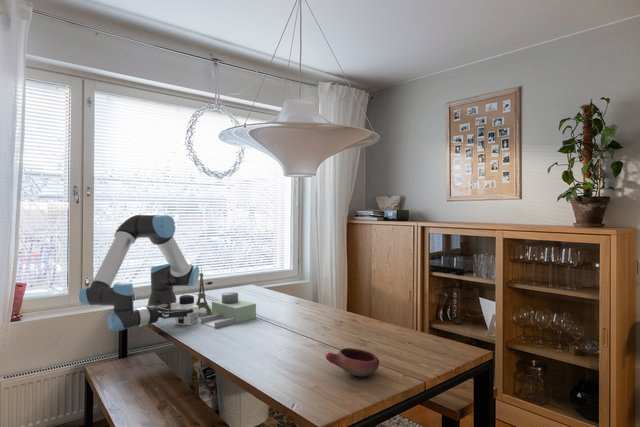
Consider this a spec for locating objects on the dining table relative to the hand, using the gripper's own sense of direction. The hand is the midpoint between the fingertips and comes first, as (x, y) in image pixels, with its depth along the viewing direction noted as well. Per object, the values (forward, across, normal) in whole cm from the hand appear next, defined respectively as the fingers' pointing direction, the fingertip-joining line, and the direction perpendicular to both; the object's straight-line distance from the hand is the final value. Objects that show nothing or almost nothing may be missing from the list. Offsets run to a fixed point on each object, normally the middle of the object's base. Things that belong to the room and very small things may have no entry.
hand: (190, 306), depth 196 cm
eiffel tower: (+12, -10, -8) cm, 17 cm away
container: (-2, 0, -8) cm, 8 cm away
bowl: (+2, +97, -8) cm, 97 cm away
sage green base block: (+14, +8, -7) cm, 17 cm away
